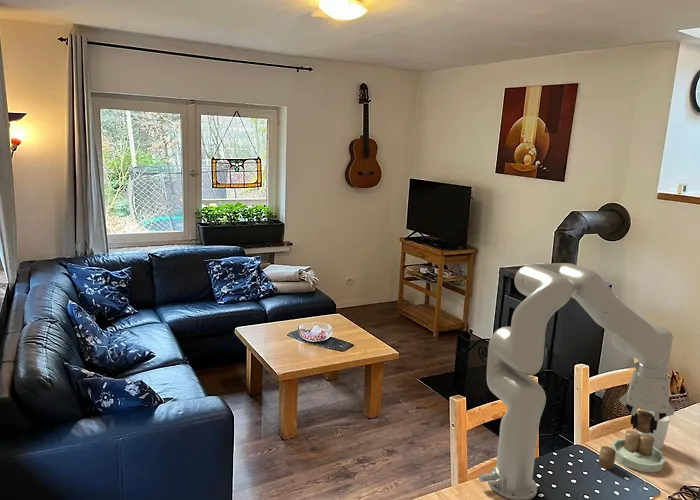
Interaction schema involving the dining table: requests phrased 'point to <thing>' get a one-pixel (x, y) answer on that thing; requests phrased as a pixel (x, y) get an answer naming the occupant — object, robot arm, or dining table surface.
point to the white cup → (659, 431)
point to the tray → (638, 452)
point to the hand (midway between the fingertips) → (642, 428)
